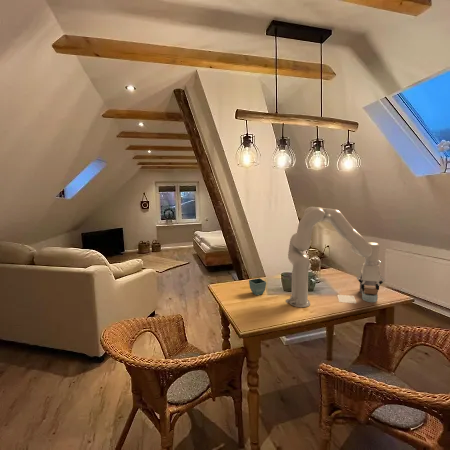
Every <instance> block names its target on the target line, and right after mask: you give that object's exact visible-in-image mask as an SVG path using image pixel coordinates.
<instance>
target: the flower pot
mask: <svg viewBox="0 0 450 450" xmlns="http://www.w3.org/2000/svg"><path fill="white" fill-rule="evenodd" d="M248 285H249V288H250V291H251V293H252V294H253V295H255V296H260V295H263V294H264V293H265V291H266V287H267V281H266V280H264V279H262V278H261V277H259V278H253V279H249V280H248Z"/></svg>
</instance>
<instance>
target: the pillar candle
mask: <svg viewBox="0 0 450 450" xmlns="http://www.w3.org/2000/svg"><path fill="white" fill-rule="evenodd" d="M360 274H361V271H360V273H359V275H360ZM359 279H360V280H361V281H362V278H361V277H360V278H359ZM376 284H377V283H376V281H365V283H364V285H368V286H375V287H376ZM362 292H363V290H362V289H361V283H360V282H359V293H360V294H362Z"/></svg>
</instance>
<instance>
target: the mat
mask: <svg viewBox="0 0 450 450" xmlns="http://www.w3.org/2000/svg"><path fill="white" fill-rule="evenodd" d="M337 298H338V302H339V303H346V304H357V300H356V298H355V296H354V295H345V294H337Z"/></svg>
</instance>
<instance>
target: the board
mask: <svg viewBox="0 0 450 450" xmlns="http://www.w3.org/2000/svg"><path fill="white" fill-rule="evenodd" d="M378 292H379V290H377V288H376V287H375V286H368V285H364V293H365V294H374V295H378Z"/></svg>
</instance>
